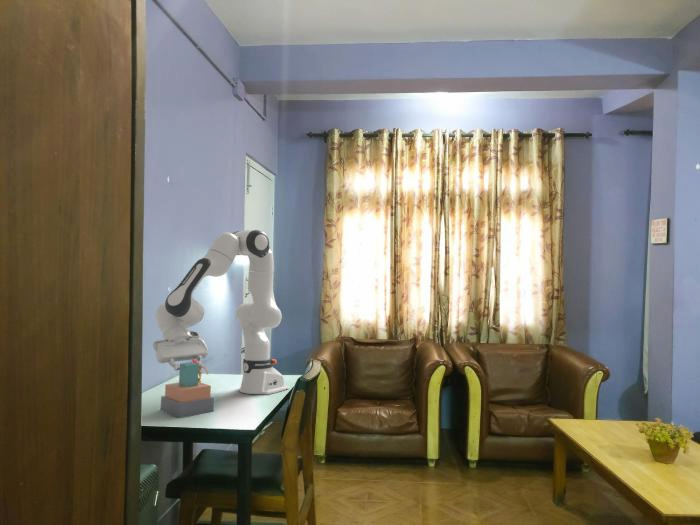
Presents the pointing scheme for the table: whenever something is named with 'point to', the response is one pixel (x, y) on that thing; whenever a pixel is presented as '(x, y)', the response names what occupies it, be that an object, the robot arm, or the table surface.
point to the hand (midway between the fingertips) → (189, 368)
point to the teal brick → (188, 374)
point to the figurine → (201, 372)
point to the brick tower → (187, 399)
